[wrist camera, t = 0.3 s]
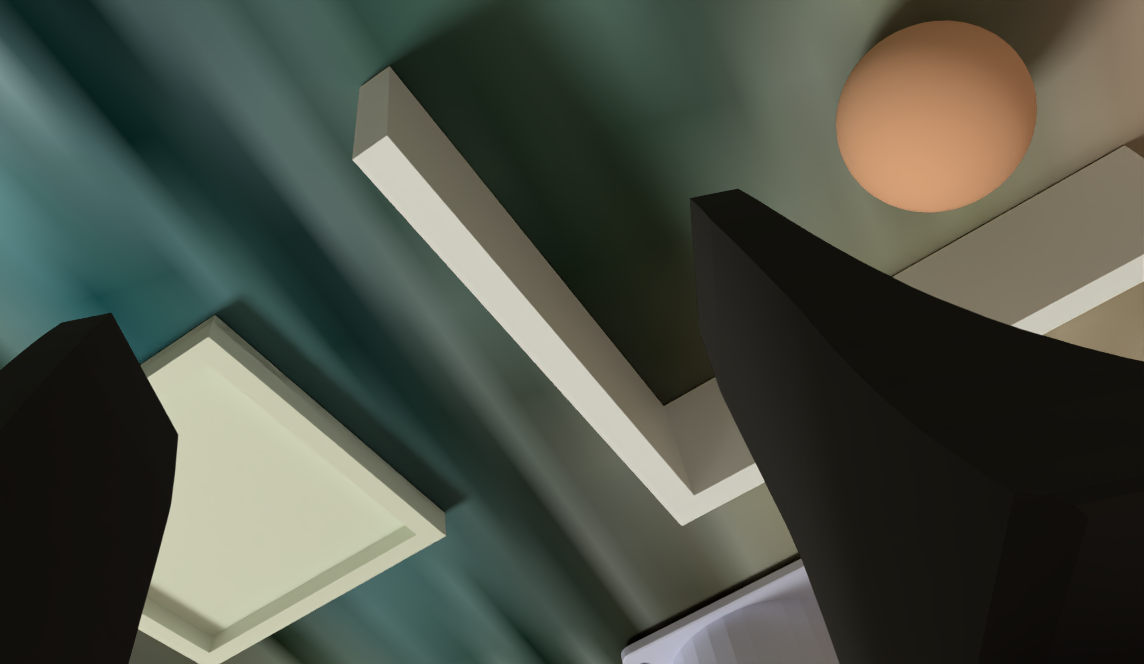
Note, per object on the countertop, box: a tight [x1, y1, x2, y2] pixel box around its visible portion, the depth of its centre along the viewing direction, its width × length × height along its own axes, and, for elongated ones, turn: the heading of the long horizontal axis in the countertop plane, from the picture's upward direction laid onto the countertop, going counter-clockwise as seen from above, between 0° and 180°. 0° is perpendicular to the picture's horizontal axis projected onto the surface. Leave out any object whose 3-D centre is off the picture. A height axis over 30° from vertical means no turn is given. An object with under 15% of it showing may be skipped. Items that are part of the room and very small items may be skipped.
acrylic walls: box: [352, 66, 1144, 526], centre depth 20 cm, size 13×14×4 cm
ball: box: [836, 21, 1037, 212], centre depth 20 cm, size 4×4×4 cm
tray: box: [138, 315, 446, 664], centre depth 26 cm, size 9×9×1 cm
